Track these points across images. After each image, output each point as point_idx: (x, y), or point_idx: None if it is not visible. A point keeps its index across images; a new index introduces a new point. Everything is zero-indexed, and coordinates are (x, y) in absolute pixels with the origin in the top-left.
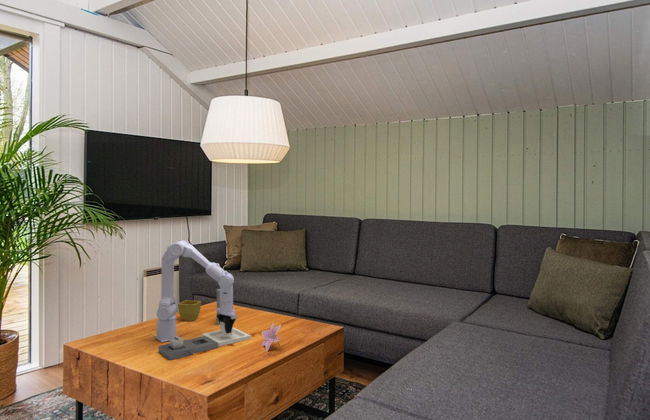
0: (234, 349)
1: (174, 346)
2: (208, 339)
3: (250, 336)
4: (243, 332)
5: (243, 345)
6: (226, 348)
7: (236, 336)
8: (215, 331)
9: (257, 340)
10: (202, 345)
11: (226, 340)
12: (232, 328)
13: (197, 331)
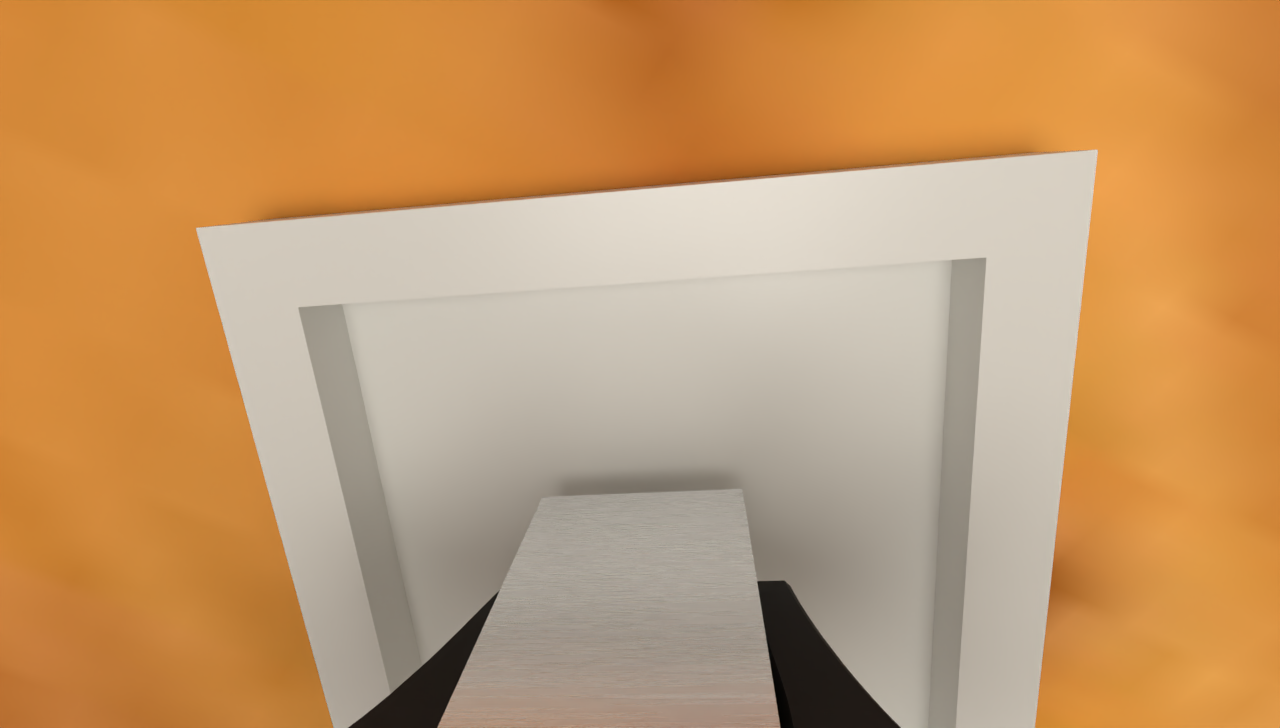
0: (1270, 648)
1: None
2: None
3: (1079, 157)
4: (735, 201)
5: (1218, 436)
6: (1113, 718)
7: (683, 347)
8: (339, 654)
9: (1183, 21)
10: None
11: (1000, 724)
12: (756, 582)
13: (32, 710)
